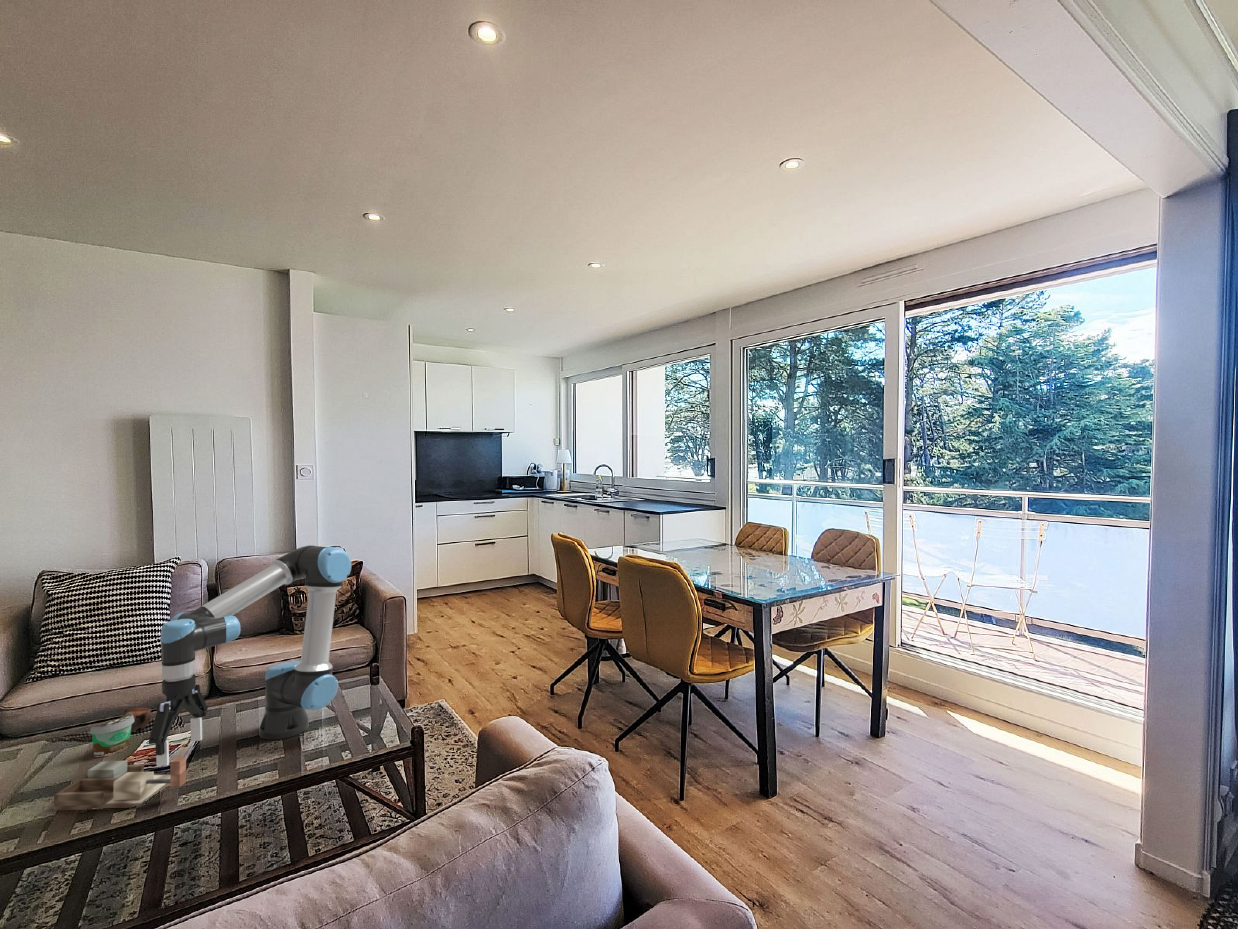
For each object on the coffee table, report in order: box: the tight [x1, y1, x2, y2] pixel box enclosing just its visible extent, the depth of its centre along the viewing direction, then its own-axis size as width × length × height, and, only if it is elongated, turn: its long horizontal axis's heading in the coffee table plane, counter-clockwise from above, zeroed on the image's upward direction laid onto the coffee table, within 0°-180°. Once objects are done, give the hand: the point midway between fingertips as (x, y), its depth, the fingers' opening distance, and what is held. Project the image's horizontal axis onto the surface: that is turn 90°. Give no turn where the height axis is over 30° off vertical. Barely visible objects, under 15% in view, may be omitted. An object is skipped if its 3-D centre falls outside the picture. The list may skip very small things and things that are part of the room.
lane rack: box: [53, 760, 170, 811], centre depth 166 cm, size 22×15×6 cm
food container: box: [89, 712, 134, 756], centre depth 190 cm, size 12×6×10 cm, turn 168°
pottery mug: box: [120, 707, 153, 732], centre depth 206 cm, size 12×10×8 cm
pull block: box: [113, 756, 187, 800], centre depth 163 cm, size 16×5×10 cm, turn 93°
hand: (180, 752), depth 163 cm, fingers open, 13 cm apart
